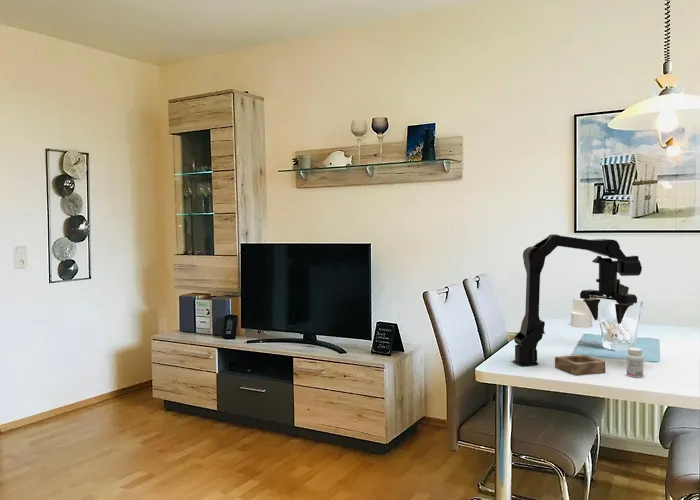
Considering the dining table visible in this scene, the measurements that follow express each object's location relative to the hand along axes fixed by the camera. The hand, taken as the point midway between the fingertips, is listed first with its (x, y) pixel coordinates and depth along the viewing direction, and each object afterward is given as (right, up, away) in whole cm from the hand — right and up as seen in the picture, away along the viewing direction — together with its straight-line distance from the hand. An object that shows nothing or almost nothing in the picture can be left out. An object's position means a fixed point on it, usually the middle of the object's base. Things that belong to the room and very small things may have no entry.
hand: (607, 321), depth 206 cm
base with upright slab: (+18, -10, +69) cm, 72 cm away
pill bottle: (+1, -15, -17) cm, 23 cm away
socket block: (-13, -15, -9) cm, 22 cm away
